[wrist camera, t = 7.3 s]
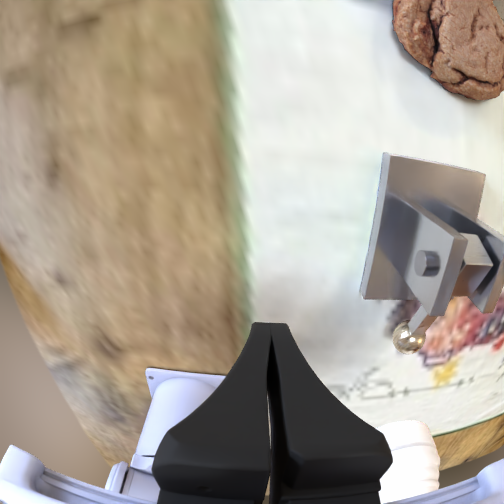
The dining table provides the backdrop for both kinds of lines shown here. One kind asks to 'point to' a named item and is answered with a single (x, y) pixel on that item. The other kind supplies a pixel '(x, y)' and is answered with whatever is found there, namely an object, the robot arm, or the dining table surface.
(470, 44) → the cookie
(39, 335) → the dining table surface
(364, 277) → the bracket
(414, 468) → the honey pot
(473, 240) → the tap lever
